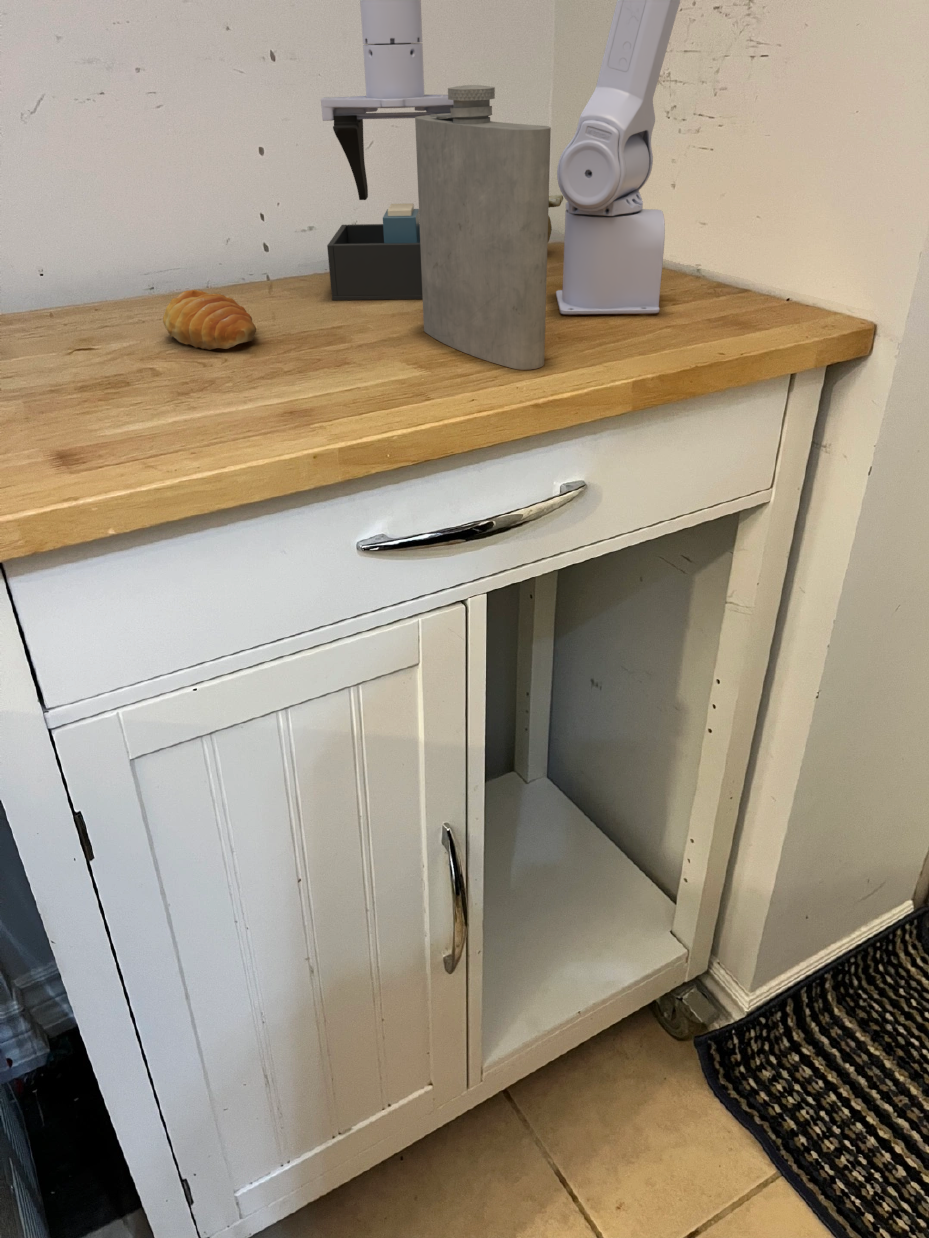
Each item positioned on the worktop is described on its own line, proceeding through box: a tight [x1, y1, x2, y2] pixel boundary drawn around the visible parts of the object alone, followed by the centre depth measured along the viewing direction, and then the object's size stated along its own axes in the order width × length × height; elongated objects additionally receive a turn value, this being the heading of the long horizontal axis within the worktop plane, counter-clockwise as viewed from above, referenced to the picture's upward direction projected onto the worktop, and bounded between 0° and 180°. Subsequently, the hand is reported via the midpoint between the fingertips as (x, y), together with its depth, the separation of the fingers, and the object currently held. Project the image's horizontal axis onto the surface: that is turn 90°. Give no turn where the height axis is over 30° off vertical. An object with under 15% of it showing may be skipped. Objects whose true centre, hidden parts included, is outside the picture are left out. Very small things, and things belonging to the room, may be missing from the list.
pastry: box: [162, 289, 257, 351], centre depth 84 cm, size 9×7×4 cm
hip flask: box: [414, 84, 552, 371], centre depth 77 cm, size 16×4×20 cm, turn 34°
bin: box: [326, 223, 423, 301], centre depth 100 cm, size 14×11×5 cm
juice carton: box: [382, 203, 420, 243], centre depth 99 cm, size 3×5×8 cm
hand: (400, 198), depth 97 cm, fingers open, 7 cm apart
